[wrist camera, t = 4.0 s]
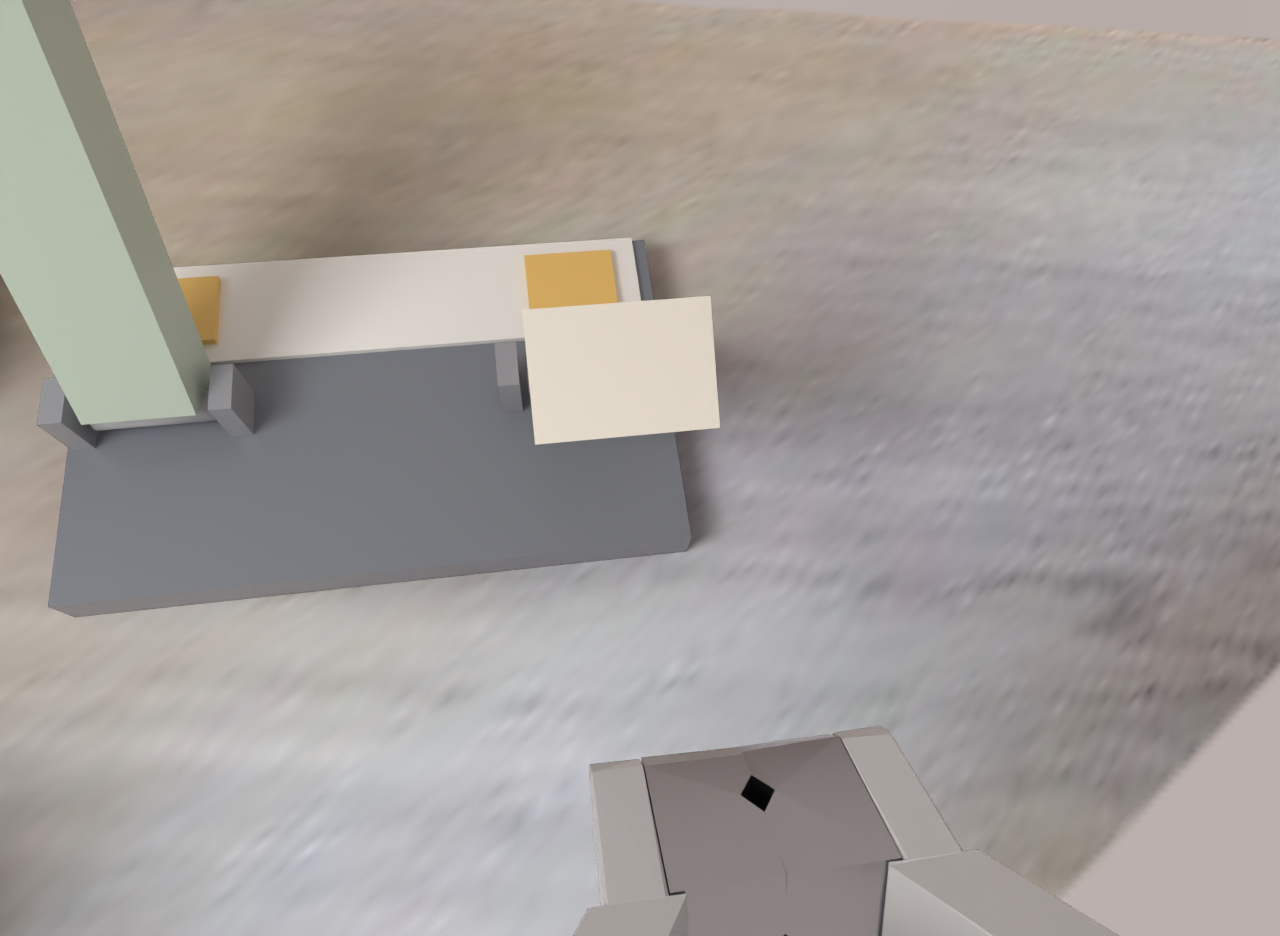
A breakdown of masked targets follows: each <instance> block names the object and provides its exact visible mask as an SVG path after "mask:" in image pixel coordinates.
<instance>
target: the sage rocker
mask: <svg viewBox="0 0 1280 936" xmlns="http://www.w3.org/2000/svg"><path fill="white" fill-rule="evenodd" d="M0 274H1V276H2V278H3V280H4V282H5V284H6V285H7V287H8V289H9V291H10V293H11V295H12V297H13V299H14V300H15V302H16V304H17V306H18V308H19V310H20V312H21V313H22V315H23V317H24V319H25V321H26V323H27V325H28V327H29V328H30V330H31V332H32V334H33V336H34V338H35V340H36V342H37V343H38V345H39V347H40V349H41V351H42V353H43V355H44V356H45V358H46V360H47V362H48V364H49V366H50V368H51V370H52V371H53V373H54V375H55V377H56V379H57V381H58V383H59V384H60V386H61V388H62V390H63V392H64V394H65V396H66V398H67V399H68V401H69V403H70V405H71V407H72V409H73V411H74V413H75V414H76V416H77V418H78V420H79V422H80V424H81V425H86V424H90V425H91V426H92V428H93V429H94V430H96V431H101V430H112V429H124V428H136V427H148V426H159V425H171V424H183V423H195V422H207V421H217V420H216V419H215V418H214V417H213V416H212V415H211V414H210V413H209V411H208V395H209V391H207V388H208V386H209V379H210V365H211V364H210V361H209V359H208V356H207V354H206V351H205V348H204V346H203V343H202V341H201V338H200V336H199V333H198V330H197V328H196V325H195V323H194V320H193V318H192V315H191V312H190V310H189V307H188V305H187V302H186V300H185V297H184V294H183V292H182V289H181V287H180V284H179V282H178V279H177V276H176V274H175V271H174V269H173V266H172V264H171V261H170V258H169V256H168V253H167V251H166V248H165V245H164V243H163V240H162V238H161V235H160V233H159V230H158V227H157V225H156V222H155V220H154V217H153V215H152V212H151V209H150V207H149V204H148V202H147V199H146V197H145V194H144V191H143V189H142V186H141V184H140V181H139V179H138V176H137V173H136V171H135V168H134V166H133V163H132V161H131V158H130V155H129V153H128V150H127V148H126V145H125V143H124V140H123V137H122V135H121V132H120V130H119V127H118V125H117V122H116V119H115V117H114V114H113V112H112V109H111V107H110V104H109V101H108V99H107V96H106V94H105V91H104V89H103V86H102V83H101V81H100V78H99V76H98V73H97V71H96V68H95V65H94V63H93V60H92V58H91V55H90V53H89V50H88V47H87V45H86V42H85V40H84V37H83V34H82V32H81V29H80V27H79V24H78V22H77V19H76V16H75V14H74V11H73V9H72V6H71V4H70V1H69V0H0Z"/></svg>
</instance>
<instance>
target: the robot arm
mask: <svg viewBox="0 0 1280 936" xmlns="http://www.w3.org/2000/svg"><path fill="white" fill-rule="evenodd" d="M589 777H590V788H591V800H592V811H593V822H594V834H595V845H596V857H597V868H598V880H599V891H600V903H601V906H599V907H593V908H588V909H587V911H586V913H585V915H584V916H583V918H582V920H581V922H580V923H579V925H578V927H577V929H576V931H575V932H574V934H573V936H1119V935H1117V934H1116V933H1114V932H1112V931H1111V930H1109V929H1107V928H1106V927H1104V926H1103V925H1101V924H1099V923H1097V922H1096V921H1094V920H1093V919H1091V918H1089V917H1088V916H1086V915H1085V914H1083V913H1081V912H1080V911H1078V910H1076V909H1075V908H1073V907H1072V906H1070V905H1068V904H1067V903H1065V902H1064V901H1062V900H1060V899H1059V898H1057V897H1055V896H1054V895H1052V894H1051V893H1049V892H1047V891H1046V890H1044V889H1042V888H1041V887H1039V886H1037V885H1036V884H1034V883H1033V882H1031V881H1029V880H1028V879H1026V878H1024V877H1023V876H1021V875H1020V874H1018V873H1016V872H1015V871H1013V870H1011V869H1010V868H1008V867H1007V866H1005V865H1003V864H1002V863H1000V862H998V861H997V860H995V859H994V858H992V857H990V856H989V855H987V854H985V853H984V852H982V851H981V850H970V851H963V850H962V848H961V847H960V845H959V843H958V842H957V840H956V839H955V837H954V835H953V834H952V832H951V830H950V829H949V827H948V826H947V824H946V822H945V821H944V819H943V817H942V816H941V814H940V813H939V811H938V809H937V808H936V806H935V804H934V803H933V801H932V800H931V798H930V796H929V795H928V793H927V791H926V790H925V788H924V787H923V785H922V783H921V782H920V780H919V778H918V777H917V775H916V774H915V772H914V770H913V769H912V767H911V765H910V764H909V762H908V761H907V759H906V757H905V756H904V754H903V752H902V751H901V749H900V748H899V746H898V744H897V743H896V741H895V739H894V738H893V736H892V735H891V733H890V731H888V730H887V729H885V728H884V727H882V726H874V727H868V728H861V729H855V730H848V731H841V732H835V733H833V734H832V735H831V734H825V735H818V736H811V737H804V738H797V739H790V740H783V741H776V742H769V743H762V744H755V745H748V746H740V747H734V748H725V749H716V750H707V751H698V752H688V753H679V754H670V755H661V756H651V757H642V758H641V762H640V760H639V759H634V760H625V761H615V762H606V763H596V764H590V775H589Z"/></svg>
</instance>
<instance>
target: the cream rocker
mask: <svg viewBox="0 0 1280 936" xmlns="http://www.w3.org/2000/svg"><path fill="white" fill-rule="evenodd" d="M522 316H523V326H524V336H525V346H526V357H527V364H526V369H527V380H528V390H529V394H530V398H531V408H532V419H533V429H534V439H535V445H538V444H549V443H560V442H570V441H581V440H592V439H603V438H614V437H625V436H636V435H647V434H658V433H669V432H680V431H690V430H701V429H712V428H720V420H719V406H718V393H717V379H716V365H715V351H714V337H713V323H712V309H711V296H702V297H689V298H675V299H662V300H648V301H634V302H621V303H607V304H594V305H580V306H567V307H553V308H540V309H526V310H522Z"/></svg>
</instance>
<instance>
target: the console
mask: <svg viewBox="0 0 1280 936" xmlns="http://www.w3.org/2000/svg"><path fill="white" fill-rule="evenodd" d="M173 269H174V271H175V274H176V276H177V279H178V282H179V284H180V287H181V289H182V292H183V294H184V297H185V300H186V302H187V305H188V307H189V310H190V312H191V315H192V318H193V320H194V323H195V325H196V328H197V330H198V333H199V336H200V338H201V341H202V343H203V346H204V348H205V351H206V354H207V356H208V359H209V361H210V364H211V365H210V379H209V386H208V388H207V391H209V395H208V411H209V413H210V414H211V415H212V416H213V417H214V418H215V419H216V420H217V421H207V422H195V423H183V424H171V425H159V426H148V427H136V428H124V429H112V430H101V431H96V430H94V429H93V428H92V426H91V425H90V424H86V425H81V424H80V422H79V420H78V418H77V416H76V414H75V413H74V411H73V409H72V407H71V405H70V403H69V401H68V399H67V398H66V396H65V394H64V392H63V390H62V388H61V386H60V384H59V383H58V381H57V379H56V378H43V383H42V390H41V397H40V404H39V411H38V418H37V425H38V426H39V427H40V428H42V429H43V430H45V431H46V432H47V433H49V434H50V435H52V436H53V437H54V438H56V439H57V440H59V441H60V442H61V443H63V444H64V445H66V446H67V447H68V452H67V460H66V468H65V476H64V484H63V492H62V500H61V508H60V516H59V523H58V531H57V539H56V547H55V555H54V563H53V571H52V579H51V587H50V595H49V603H48V607H50V608H52V609H55V610H58V611H60V612H63V613H65V614H68V615H71V616H73V617H81V616H90V615H99V614H109V613H118V612H127V611H137V610H146V609H155V608H164V607H174V606H183V605H192V604H201V603H211V602H220V601H229V600H239V599H248V598H257V597H266V596H276V595H285V594H294V593H303V592H313V591H322V590H331V589H341V588H350V587H359V586H368V585H378V584H387V583H396V582H406V581H415V580H424V579H433V578H443V577H452V576H461V575H470V574H480V573H489V572H498V571H508V570H517V569H526V568H535V567H545V566H554V565H563V564H572V563H582V562H591V561H600V560H610V559H619V558H628V557H637V556H647V555H656V554H665V553H675V552H684V551H687V548H688V546H689V543H690V541H691V539H692V538H691V532H690V525H689V519H688V513H687V507H686V500H685V494H684V488H683V481H682V475H681V469H680V463H679V456H678V450H677V444H676V438H675V432H669V433H658V434H647V435H636V436H625V437H614V438H603V439H592V440H581V441H570V442H560V443H549V444H538V445H535V439H534V429H533V419H532V408H531V398H530V394H529V390H528V380H527V369H526V364H527V357H526V346H525V336H524V326H523V316H522V310H526V309H540V308H553V307H567V306H580V305H594V304H607V303H621V302H634V301H648V300H654V299H653V293H652V287H651V281H650V274H649V268H648V262H647V256H646V249H645V243H644V240H636V241H632V238H617V239H602V240H587V241H571V242H556V243H541V244H525V245H510V246H495V247H479V248H464V249H449V250H433V251H418V252H403V253H387V254H372V255H357V256H341V257H326V258H311V259H295V260H280V261H265V262H250V263H234V264H219V265H204V266H188V267H173Z"/></svg>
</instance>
